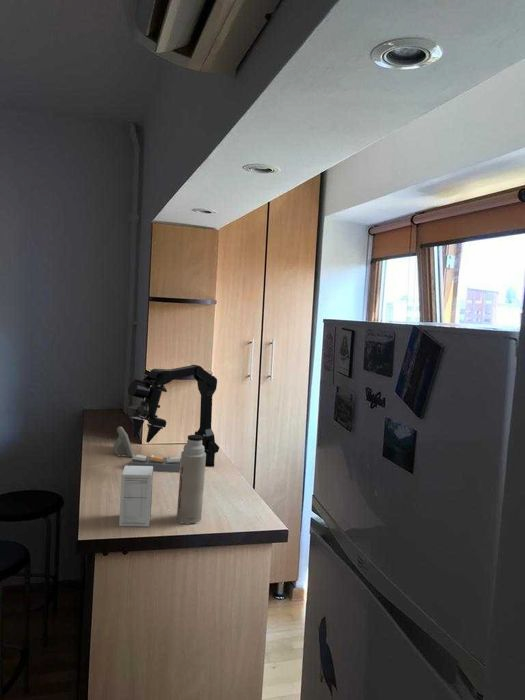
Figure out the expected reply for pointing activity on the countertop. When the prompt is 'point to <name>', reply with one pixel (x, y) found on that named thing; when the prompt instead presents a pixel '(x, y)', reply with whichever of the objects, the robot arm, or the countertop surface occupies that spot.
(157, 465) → the power strip
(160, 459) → the block
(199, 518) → the thermos bottle
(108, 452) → the countertop surface
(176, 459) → the rocker
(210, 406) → the robot arm
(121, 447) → the grey tapered fin
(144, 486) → the supplement box
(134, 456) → the rocker
